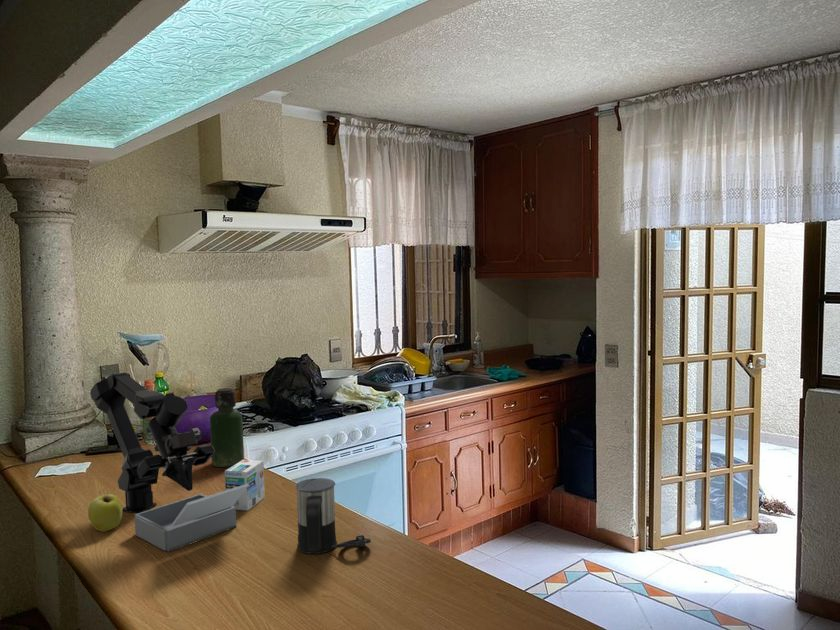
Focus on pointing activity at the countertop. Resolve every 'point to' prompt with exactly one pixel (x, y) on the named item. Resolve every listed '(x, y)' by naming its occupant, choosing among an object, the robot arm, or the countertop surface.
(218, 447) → the green bottle
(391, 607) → the countertop surface
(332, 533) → the milk frother
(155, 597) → the countertop surface
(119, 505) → the apple
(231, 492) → the grey box lid
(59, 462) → the countertop surface
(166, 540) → the grey shallow open box
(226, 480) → the light bulb box
